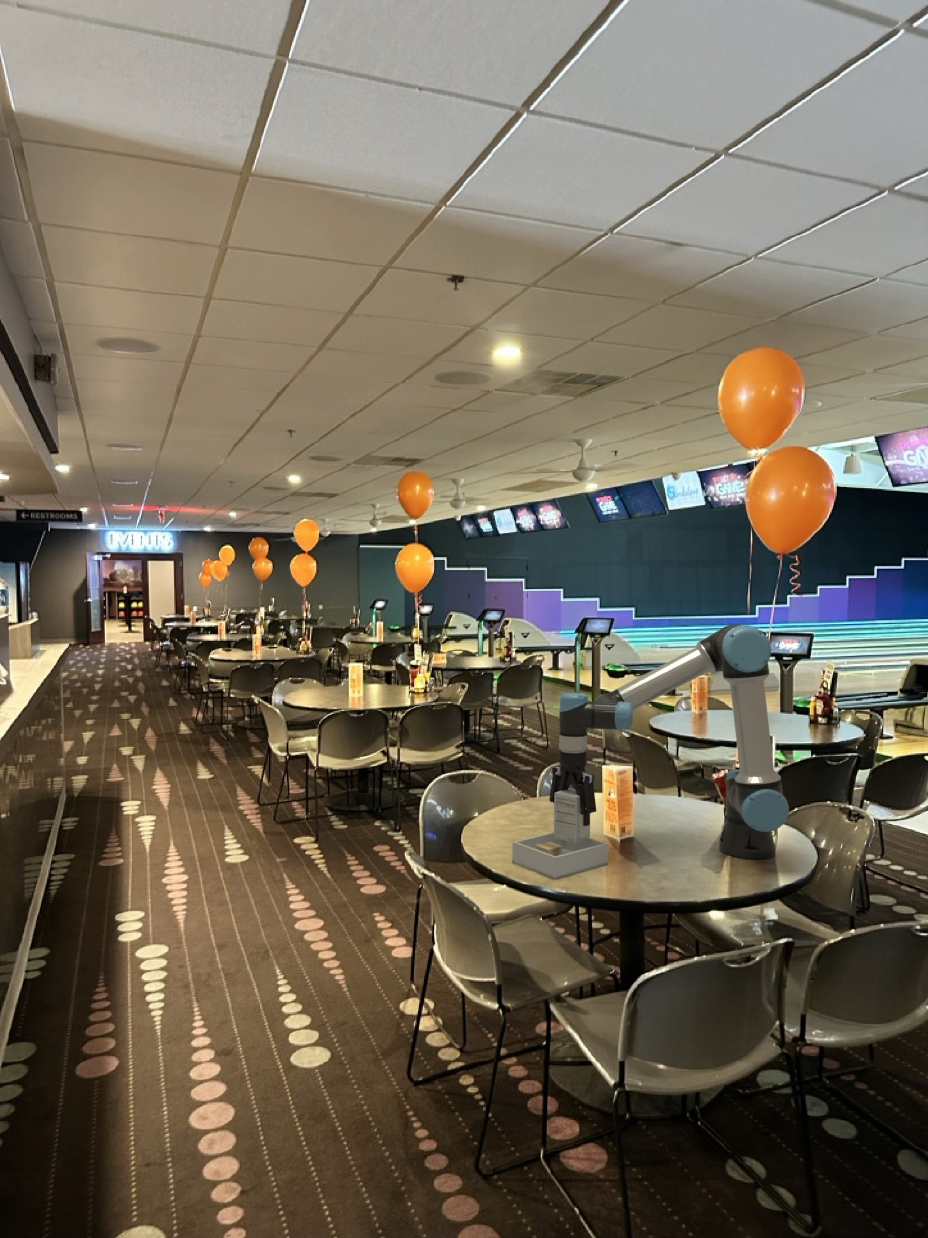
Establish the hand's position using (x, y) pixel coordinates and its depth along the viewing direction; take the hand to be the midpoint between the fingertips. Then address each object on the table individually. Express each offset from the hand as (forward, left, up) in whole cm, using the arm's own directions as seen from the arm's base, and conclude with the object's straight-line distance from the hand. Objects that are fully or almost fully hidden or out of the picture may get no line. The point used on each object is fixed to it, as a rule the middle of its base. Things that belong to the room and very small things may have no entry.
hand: (571, 833), depth 226 cm
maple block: (0, +9, -7) cm, 11 cm away
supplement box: (0, 0, -1) cm, 1 cm away
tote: (0, +4, -7) cm, 9 cm away
